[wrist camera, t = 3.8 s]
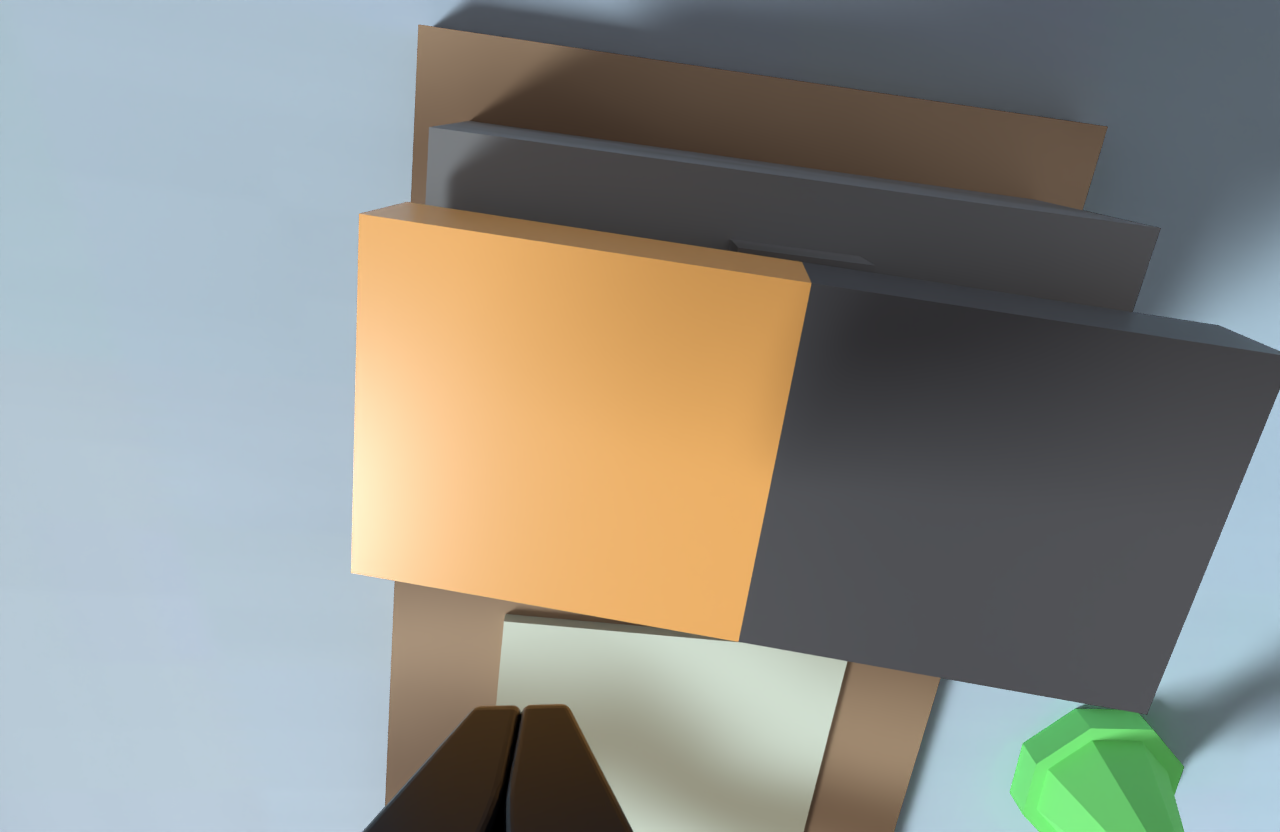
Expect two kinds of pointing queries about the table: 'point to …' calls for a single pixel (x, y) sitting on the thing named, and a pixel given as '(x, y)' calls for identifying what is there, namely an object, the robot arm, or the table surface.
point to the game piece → (1098, 775)
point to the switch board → (729, 122)
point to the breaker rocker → (793, 451)
